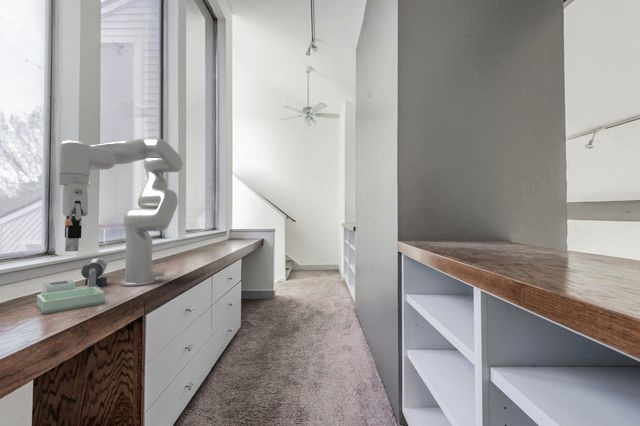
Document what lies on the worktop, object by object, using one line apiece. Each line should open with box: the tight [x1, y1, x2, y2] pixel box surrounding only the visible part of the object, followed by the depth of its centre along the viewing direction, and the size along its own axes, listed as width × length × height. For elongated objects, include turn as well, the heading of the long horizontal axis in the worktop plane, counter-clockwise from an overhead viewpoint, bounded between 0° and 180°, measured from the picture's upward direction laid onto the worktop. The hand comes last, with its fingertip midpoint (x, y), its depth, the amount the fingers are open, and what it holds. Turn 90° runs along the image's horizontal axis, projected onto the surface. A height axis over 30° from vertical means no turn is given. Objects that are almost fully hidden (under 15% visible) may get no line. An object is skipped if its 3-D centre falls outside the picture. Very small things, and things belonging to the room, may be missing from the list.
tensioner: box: [40, 262, 103, 294], centre depth 103 cm, size 16×9×11 cm, turn 141°
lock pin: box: [64, 218, 80, 252], centre depth 92 cm, size 4×4×10 cm
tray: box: [36, 287, 106, 315], centre depth 92 cm, size 15×12×4 cm
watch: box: [84, 258, 108, 288], centre depth 117 cm, size 6×8×11 cm
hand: (72, 237), depth 92 cm, fingers closed on lock pin, 3 cm apart
